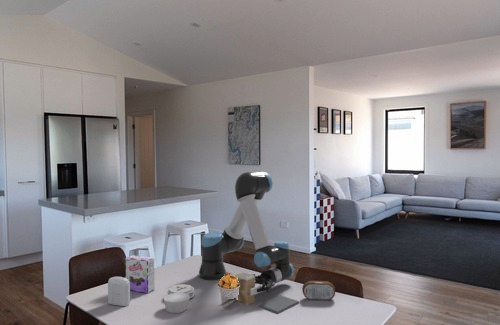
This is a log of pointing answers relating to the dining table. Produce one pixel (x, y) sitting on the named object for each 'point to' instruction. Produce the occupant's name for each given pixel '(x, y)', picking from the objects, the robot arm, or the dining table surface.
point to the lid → (182, 289)
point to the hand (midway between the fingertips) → (240, 288)
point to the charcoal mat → (278, 304)
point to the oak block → (246, 288)
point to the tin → (318, 290)
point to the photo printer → (119, 291)
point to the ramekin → (176, 302)
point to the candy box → (140, 273)
